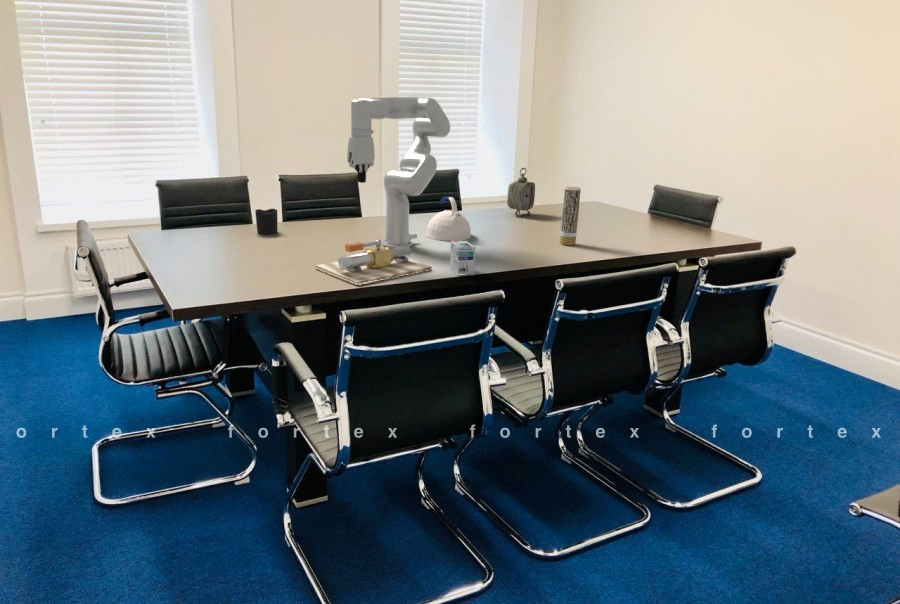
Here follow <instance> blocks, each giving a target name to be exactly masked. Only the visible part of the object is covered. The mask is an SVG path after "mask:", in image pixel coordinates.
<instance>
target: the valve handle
mask: <svg viewBox="0 0 900 604" xmlns="http://www.w3.org/2000/svg"><path fill="white" fill-rule="evenodd" d="M344 245H345V246H344V247H345V248H344V250H345V252H348V253H352V252H358V251H359V252H360V251H362V250H364V248H368V247H369V248H370V247H373V246H374V247H376V246H382V240H381V239H374V241H369V242H364V243H363V242H359V241H357V242H354V243H353V242H352V243H347V244H344Z"/></svg>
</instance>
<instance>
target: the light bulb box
mask: <svg viewBox="0 0 900 604" xmlns="http://www.w3.org/2000/svg"><path fill="white" fill-rule="evenodd" d="M475 265H476V246H474V245H473V244H471V243H470V241H468V240H462V241H450V263H449V269H450V270H451V271H452V272H454V271H455V272H456V273H457V274H471V275H470V276H474V275H475V269H476V268H475V267H476V266H475ZM455 272H454V273H455ZM456 273H455V274H456ZM457 274H456V275H457ZM473 274H474V275H473Z"/></svg>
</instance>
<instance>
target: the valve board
mask: <svg viewBox="0 0 900 604" xmlns="http://www.w3.org/2000/svg"><path fill="white" fill-rule="evenodd" d="M338 261H339V260H338ZM338 261H333V262H328V263H321V264H317V265H316V264H315V268H316V267H317V268H319V269H322V270H324V271H327V272H329V273H332V274H334V275H337V276H339V277H341V278H344V279H347V280H349V281H352V282H354V283H357V284H359V283H363V282H368V281H374V280H380V279H387V278H392V277H396V276H402V275H406V274H411V273H416V272H421V271H426V270H431V269H432V270H433V266H431V265H429V264H426V263H422V262H420V261H416V260H414V259H411V258H408V263H403V264H402V263H399V262H396V261H394V260H393V261H392V262H391V265H388V266H383V267H378V268H374V267H371V266H370V267H366V266H360V267H361V272H358V273H353V272H350V271H347V270H346V269H345V270H342V269H340V267H339V264H338ZM432 270H431V271H432ZM426 272H427V271H426ZM421 273H422V272H421Z"/></svg>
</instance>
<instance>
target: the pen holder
mask: <svg viewBox="0 0 900 604" xmlns="http://www.w3.org/2000/svg"><path fill="white" fill-rule="evenodd" d="M254 210H255V221H256V230H257V233H258V234H260V235H275V234H277V233H278V209H276V208H269V209H265V210H264V209H260V208H258V209H254Z"/></svg>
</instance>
